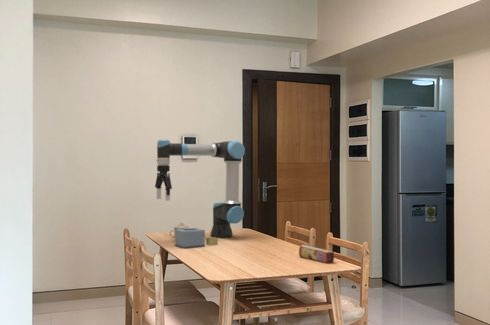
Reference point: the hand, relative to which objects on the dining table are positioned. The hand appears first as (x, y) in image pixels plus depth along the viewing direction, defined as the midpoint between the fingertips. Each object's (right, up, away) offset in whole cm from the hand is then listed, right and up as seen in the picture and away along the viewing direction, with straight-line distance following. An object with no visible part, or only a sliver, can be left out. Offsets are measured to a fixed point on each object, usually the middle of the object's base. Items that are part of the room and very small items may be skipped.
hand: (163, 199), depth 313 cm
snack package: (+88, -29, -43) cm, 102 cm away
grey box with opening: (+17, -28, -3) cm, 32 cm away
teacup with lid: (+8, -28, +15) cm, 33 cm away
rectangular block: (+30, -28, +3) cm, 41 cm away
